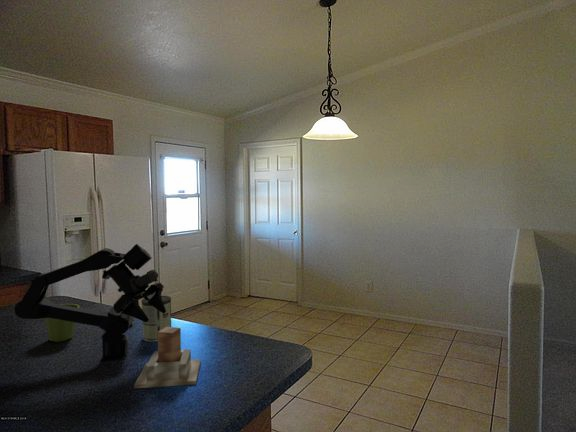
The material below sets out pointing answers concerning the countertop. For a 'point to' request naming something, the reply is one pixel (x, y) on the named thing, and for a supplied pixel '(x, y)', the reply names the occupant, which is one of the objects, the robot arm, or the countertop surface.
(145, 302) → the coffee can
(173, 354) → the wooden peg
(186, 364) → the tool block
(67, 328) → the plant pot
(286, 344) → the countertop surface
